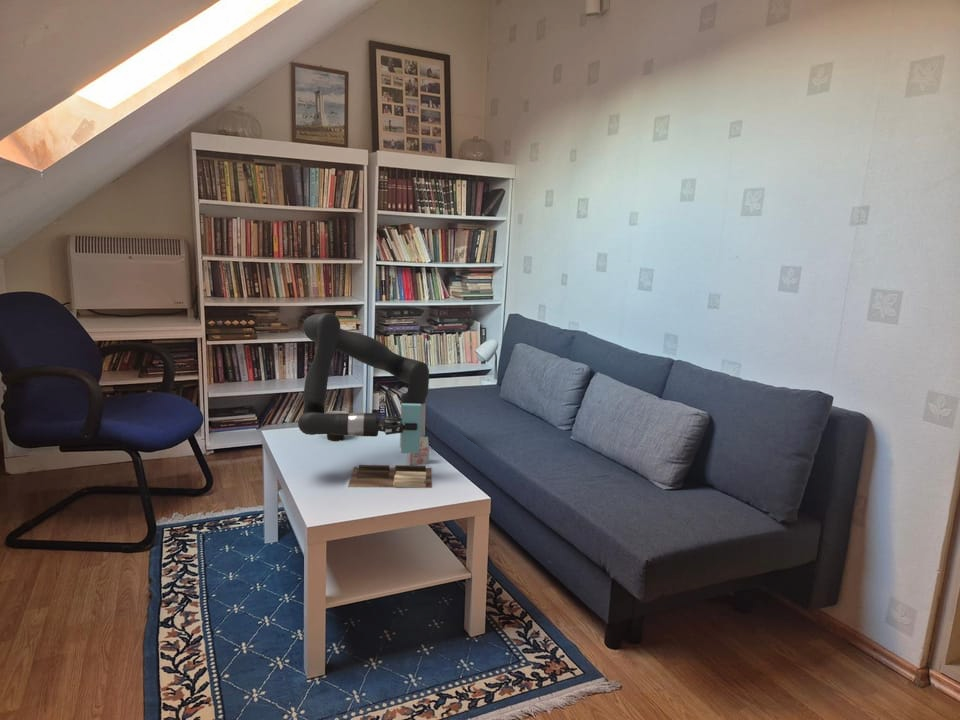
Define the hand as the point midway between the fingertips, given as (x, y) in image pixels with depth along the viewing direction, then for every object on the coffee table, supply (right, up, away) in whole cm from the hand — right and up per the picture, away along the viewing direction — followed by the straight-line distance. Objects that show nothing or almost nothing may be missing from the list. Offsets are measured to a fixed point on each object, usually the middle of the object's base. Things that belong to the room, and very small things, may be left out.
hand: (417, 425), depth 204 cm
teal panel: (-2, -9, +1) cm, 9 cm away
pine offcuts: (-2, -18, -5) cm, 19 cm away
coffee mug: (-37, -9, +41) cm, 56 cm away
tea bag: (-1, -16, +15) cm, 22 cm away
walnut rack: (-8, -18, 0) cm, 20 cm away
